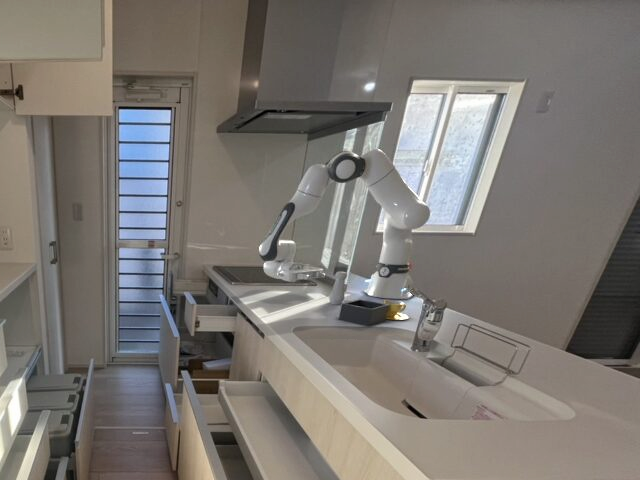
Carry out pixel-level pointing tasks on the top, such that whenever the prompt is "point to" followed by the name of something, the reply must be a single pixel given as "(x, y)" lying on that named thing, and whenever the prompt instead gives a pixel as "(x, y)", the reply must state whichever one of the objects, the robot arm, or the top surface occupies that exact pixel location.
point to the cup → (395, 310)
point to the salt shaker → (338, 289)
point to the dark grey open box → (363, 312)
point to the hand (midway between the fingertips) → (316, 276)
